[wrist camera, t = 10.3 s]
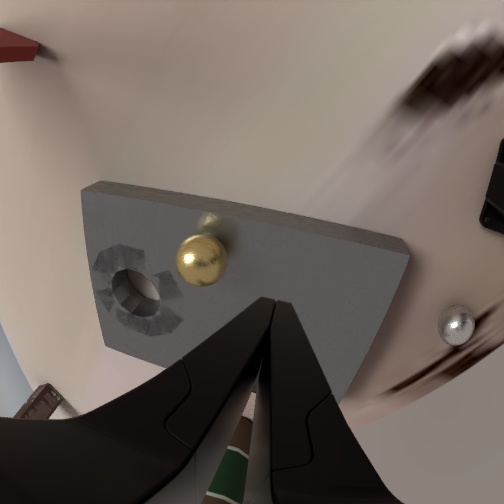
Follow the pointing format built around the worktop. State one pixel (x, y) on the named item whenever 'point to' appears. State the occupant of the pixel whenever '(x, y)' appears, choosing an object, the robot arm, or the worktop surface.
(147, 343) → the plate
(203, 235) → the brass ball
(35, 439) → the robot arm
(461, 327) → the steel ball
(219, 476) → the beer bottle
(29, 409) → the box
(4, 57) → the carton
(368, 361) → the worktop surface
